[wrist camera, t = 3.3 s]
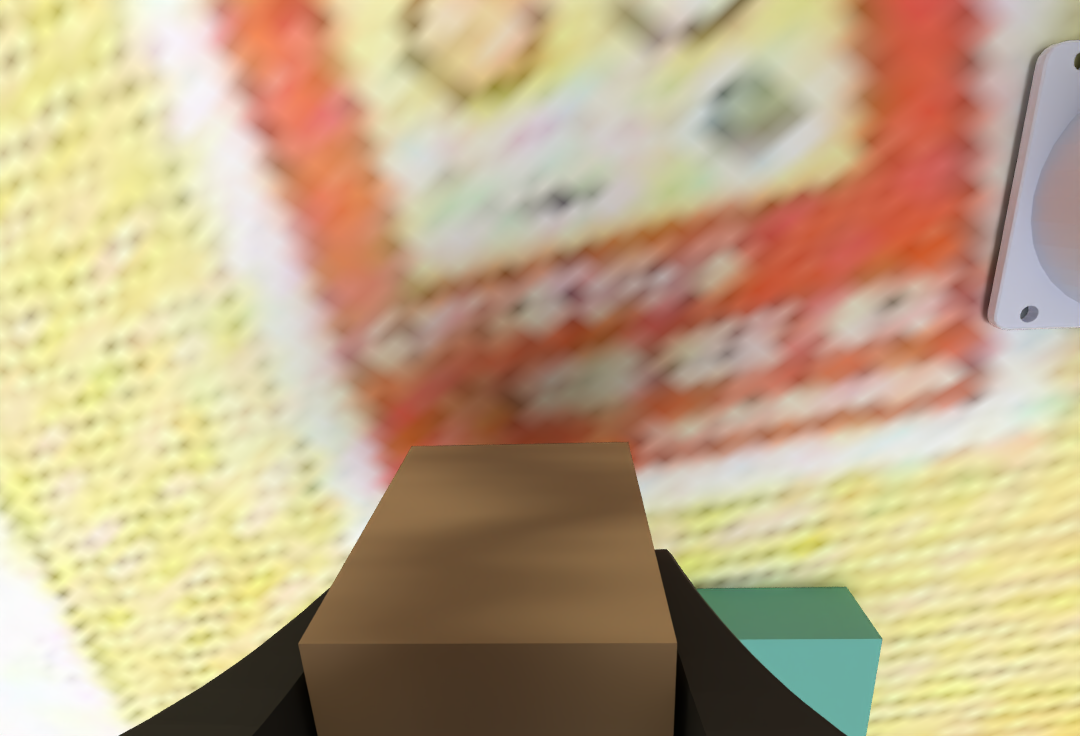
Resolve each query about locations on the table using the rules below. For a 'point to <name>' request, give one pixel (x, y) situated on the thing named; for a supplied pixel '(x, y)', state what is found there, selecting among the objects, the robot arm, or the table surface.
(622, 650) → the walnut block
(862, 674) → the teal base
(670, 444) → the table surface
